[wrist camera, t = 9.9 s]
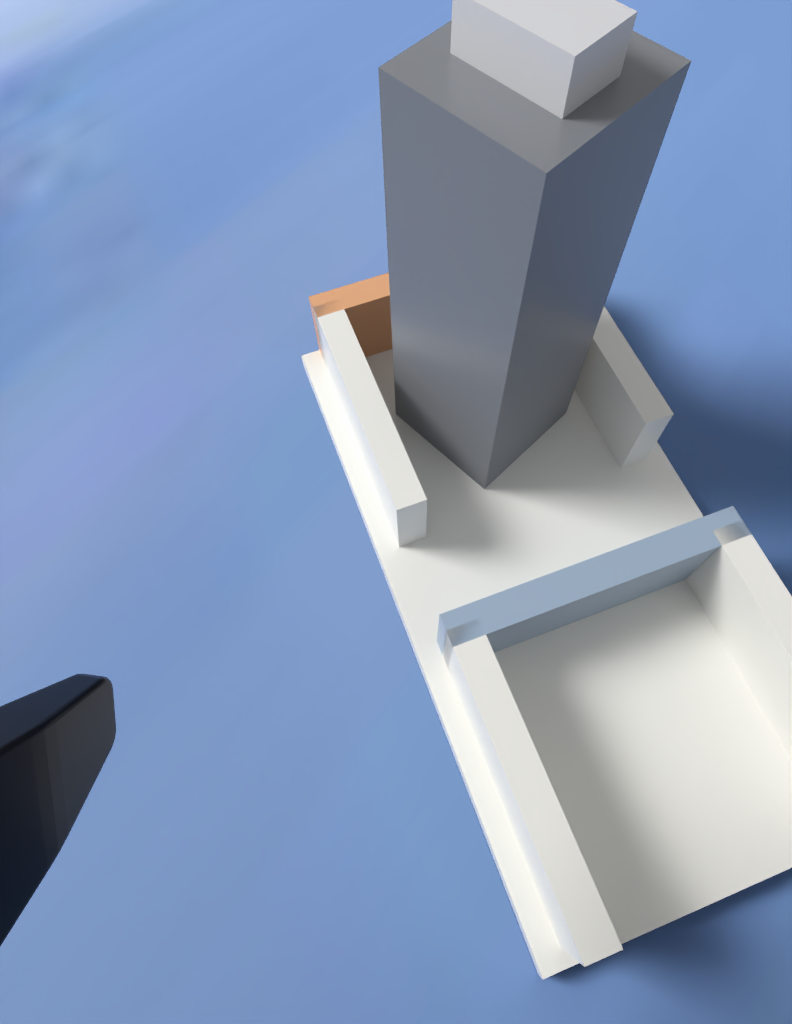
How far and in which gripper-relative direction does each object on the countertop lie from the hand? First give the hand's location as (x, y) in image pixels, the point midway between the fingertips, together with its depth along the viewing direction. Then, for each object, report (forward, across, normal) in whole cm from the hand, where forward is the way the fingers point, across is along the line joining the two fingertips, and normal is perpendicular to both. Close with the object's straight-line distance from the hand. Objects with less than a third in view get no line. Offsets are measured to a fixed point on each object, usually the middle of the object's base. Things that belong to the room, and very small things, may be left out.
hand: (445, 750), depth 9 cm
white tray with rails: (+15, -3, +4) cm, 16 cm away
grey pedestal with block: (+18, 0, -1) cm, 19 cm away
